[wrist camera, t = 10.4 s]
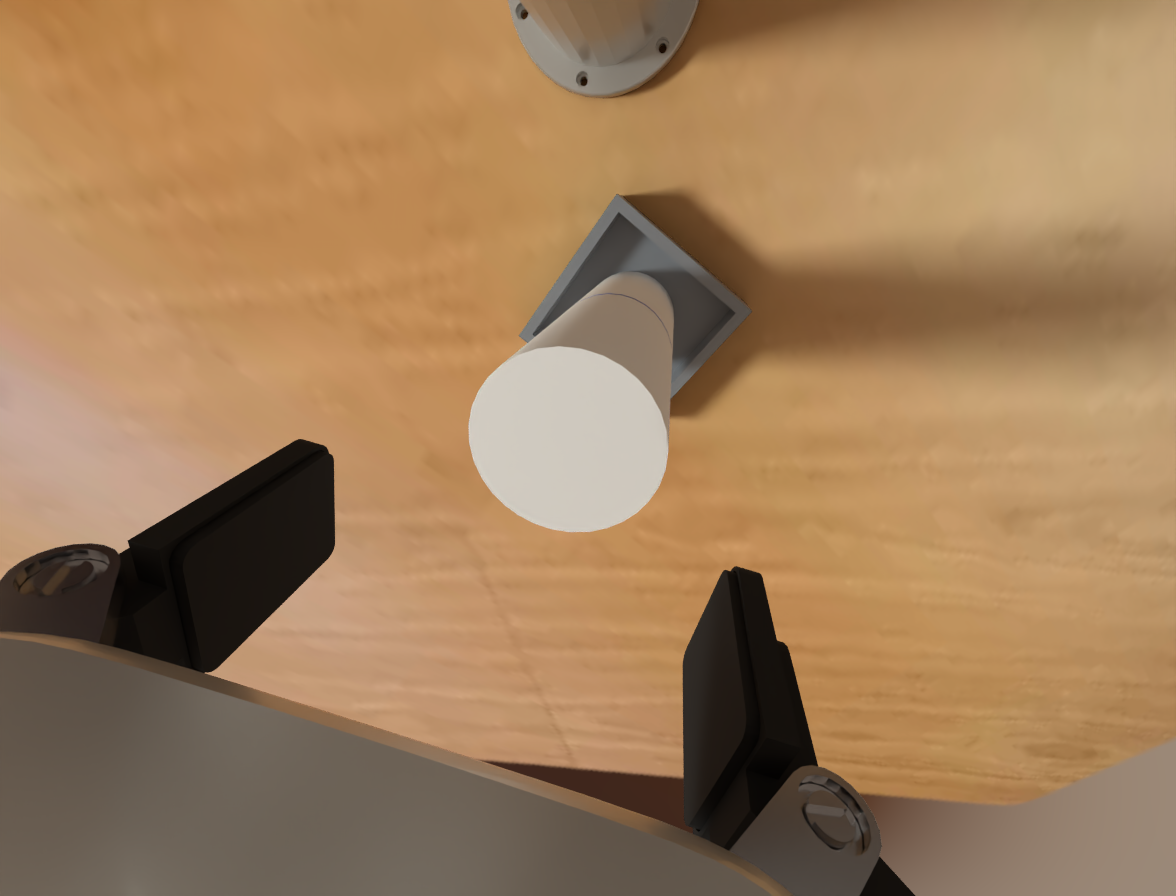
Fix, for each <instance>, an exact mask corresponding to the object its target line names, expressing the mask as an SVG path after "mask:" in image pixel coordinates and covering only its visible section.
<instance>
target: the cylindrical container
mask: <svg viewBox="0 0 1176 896" xmlns="http://www.w3.org/2000/svg"><path fill="white" fill-rule="evenodd" d="M673 329H674V309H673V305H672V301H671V298H670V297H669V295H668V293H667V291H666V290H665V288H664V287H663V286H662V285H661V284H660V283H659V282H658V281H657V280H656V279H654V278H652V277H650V276H649V275H646V274H643V273H640V272H632V271H627V272H620V273H617V274H614V275H612V276H610V277H608V278H606V279H605V280H603V281H602V282H601V283H600V284H598V285H597V286H596V287H595V288H594V289H592V290H591V291H590V292H589V293H588V294H586V295H585V296H584V297H583V298H582V299H580V300H579V301H578V302H577V303H575V304H574V305H573V306H572V307H571V308H569V309H568V310H567V311H566V312H565V313H563V314H562V315H561V316H560V317H559V318H557V319H556V320H555V321H554V322H553V323H551V324H550V325H549V326H548V327H547V328H545V329H544V330H543V331H542V332H540V333H539V334H538V335H537V336H536V337H534V338H533V339H532V340H531V341H530V342H528V343H527V344H526V345H525V346H523V347H522V348H521V349H520V350H519V351H517V352H516V353H515V354H514V355H513V356H511V357H510V358H509V359H508V360H506V361H505V362H504V363H503V364H502V365H500V366H499V367H498V368H497V369H496V370H495V371H494V372H493V373H492V374H491V375H490V376H489V377H488V378H487V379H486V381H485V382H484V384H483V385H482V387H481V388H480V389H479V391H478V393H477V396H476V398H475V400H474V403H473V405H472V408H471V414H470V420H469V444H470V448H471V452H472V456H473V460H474V463H475V465H476V467H477V469H478V471H479V473H480V475H481V477H482V479H483V481H484V482H485V483H486V485H487V486H488V488H489V489H490V490H491V492H492V493H493V494H494V495H495V496H496V497H497V498H498V499H499V500H500V501H501V502H502V503H503V504H504V505H505V506H506V507H508V508H509V509H511V510H512V511H513V512H515V513H516V514H517V515H519V516H521V517H523V518H525V519H527V520H529V521H530V522H532V523H534V524H537V525H540V526H543V527H546V528H549V529H553V530H560V531H566V532H591V531H595V530H600V529H605V528H609V527H611V526H614V525H616V524H618V523H621V522H623V521H625V520H626V519H628V518H630V517H631V516H633V515H634V514H636V513H637V512H638V511H639V510H640V509H641V508H642V507H643V506H645V505H646V504H647V503H648V502H649V500H650V499H651V497H652V496H653V495H654V493H655V492H656V490H657V489H658V487H659V485H660V482H661V480H662V477H663V475H664V472H665V469H666V463H667V456H668V446H669V422H670V397H671V375H672V354H673Z"/></svg>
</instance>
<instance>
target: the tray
mask: <svg viewBox="0 0 1176 896" xmlns="http://www.w3.org/2000/svg"><path fill="white" fill-rule="evenodd" d="M627 271H632V272H640V273H643V274H646V275H649V276H650V277H652V278H654V279H656V280H657V281H658V282H659V283H660V284H661V285H662V286H663V287H664V288H665V290H666V291H667V293H668V295H669V297H670V298H671V301H672V305H673V309H674V329H673V354H672V375H671V397H670V399H671V398H672V397H673V396H674V395H675V394H676V393H677V392H678V391H679V390H680V389H681V387H682V386H683V385H684V384H685V383H686V382H687V381H688V380H689V379H690V378H691V377H692V376H693V375H694V373H695V372H696V371H697V370H698V369H699V368H700V367H701V366H702V365H703V364H704V363H705V362H706V361H707V359H708V358H709V357H710V356H711V355H712V354H713V353H714V352H715V351H716V350H717V349H718V348H719V347H720V345H721V344H722V343H723V342H724V341H725V340H726V339H727V338H728V337H729V336H730V335H731V334H732V333H733V331H734V330H735V329H736V328H737V327H738V326H739V325H740V324H741V323H742V322H743V321H744V320H745V319H746V317H747V316H748V315H749V314H750V313H751V312H752V311H751V309H750V308H749V307H748V305H747V304H746V303H745V302H744V301H743V300H741V299H740V298H739V297H738V296H737V295H736V294H735V293H733V292H732V291H731V290H730V289H729V288H728V287H726V286H725V285H724V284H723V283H722V282H721V281H720V280H718V279H717V278H716V277H715V276H714V275H713V274H712V273H710V272H709V271H708V270H707V269H706V268H705V267H703V266H702V265H701V264H700V263H699V262H698V261H697V260H695V259H694V258H693V257H692V256H691V255H690V254H689V253H687V252H686V251H685V250H684V249H683V248H682V247H680V246H679V245H678V244H677V243H676V242H675V241H674V240H672V239H671V238H670V237H669V236H668V235H667V234H666V233H664V232H663V231H662V230H661V229H660V228H659V227H657V226H656V225H655V224H654V223H653V222H652V221H651V220H649V219H648V218H647V217H646V216H645V215H644V214H643V213H641V212H640V211H639V210H638V209H637V208H636V207H634V206H633V205H632V204H631V203H630V202H629V201H628V200H626V199H625V198H624V197H623V196H621V195H619V194H616V196H615V197H614V199H613V200H612V202H611V203H610V204H609V206H608V207H607V209H606V210H605V212H604V213H603V215H602V216H601V218H600V219H599V220H598V222H597V223H596V225H595V226H594V228H593V229H592V231H591V232H590V233H589V235H588V236H587V238H586V239H585V241H584V242H583V244H582V245H581V247H580V248H579V249H578V251H577V252H576V254H575V255H574V257H573V258H572V260H571V261H570V262H569V264H568V265H567V267H566V268H565V270H564V271H563V273H562V274H561V275H560V277H559V278H558V280H557V281H556V283H555V284H554V286H553V287H552V289H551V290H550V291H549V293H548V294H547V296H546V297H545V299H544V300H543V302H542V303H541V304H540V306H539V307H538V309H537V310H536V312H535V313H534V315H533V316H532V318H531V319H530V320H529V322H528V323H527V325H526V326H525V328H524V329H523V331H522V332H521V333H520V335H519V336H520V337H521V338H522V339H523V340H525V341H526V342H527V343H528V342H530V341H531V340H532V339H533V338H534V337H536V336H537V335H538V334H539V333H540V332H542V331H543V330H544V329H545V328H547V327H548V326H549V325H550V324H551V323H553V322H554V321H555V320H556V319H557V318H559V317H560V316H561V315H562V314H563V313H565V312H566V311H567V310H568V309H569V308H571V307H572V306H573V305H574V304H575V303H577V302H578V301H579V300H580V299H582V298H583V297H584V296H585V295H586V294H588V293H589V292H590V291H591V290H592V289H594V288H595V287H596V286H597V285H598V284H600V283H601V282H602V281H603V280H605V279H606V278H608V277H610V276H612V275H614V274H617V273H620V272H627Z"/></svg>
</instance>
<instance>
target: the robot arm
mask: <svg viewBox="0 0 1176 896" xmlns="http://www.w3.org/2000/svg"><path fill="white" fill-rule="evenodd" d="M508 3H509V7H510V12H511V16H512V20H513V23H514V26H515V28H516V31H517V33H518V36H519V38H520V40H521V43H522V44H523V46H524V48H525V49H526V51H527V52H528V54H529V56H530V57H531V59H532V60H533V62H534V63H535V64H536V65H537V66H538V67H539V69H540V70H541V71H542V72H543V73H544V74H545V75H546V76H548V77H549V78H550V79H551V80H552V81H553V82H554V83H556V84H557V85H559V86H561V87H563V88H564V89H566V90H568V91H569V92H572V93H575V94H578V95H582V96H585V97H594V98H607V97H614V96H620V95H622V94H625V93H627V92H630V91H632V90H635V89H637V88H639V87H640V86H642V85H643V84H645V83H646V82H648V81H649V80H651V79H652V78H654V77H655V76H656V75H657V74H658V73H659V72H660V71H661V70H662V69H663V68H664V67H665V66H666V65H667V64H668V63H669V61H670V60H671V59H672V57H673V56H674V54H675V53H676V52H677V50H678V49H679V48H680V46H681V44H682V42H683V40H684V38H685V36H686V35H687V33H688V31H689V29H690V27H691V24H692V21H693V18H694V15H695V12H696V9H697V6H698V3H699V0H508ZM524 12H528V16H527V18H526V19H525V20H523V17H522V16H523V13H524ZM662 45H665V46H666V48H667V50H666V52H664V53H660V52H659V48H660V47H661V46H662ZM583 78H587V79H588V83H587V85H585V86H582V85H581V81H582V79H583ZM128 543H129V547H130V548H128V549H127V550H125V551H123V552H122V553H120V554H118V553H117V551H116V550H115V549H113V548H110V547H108V546H105V545H99V544H91V543H89V544H73V545H67V546H62V547H57V548H53V549H50V550H47V551H44V552H41V553H38V554H36V555H34V556H32V557H29V558H27V559H25V560H23V561H21V562H20V563H18V564H17V565H16V566H14V567H13V568H11V569H10V570H9V571H8V572H7V573H6V574H5V575H4V577H3V578H2V579H1V580H0V896H915V895H914V894H913V893H912V892H911V891H910V889H909V888H908V887H907V886H906V885H905V884H904V883H903V882H902V881H901V880H900V878H899V877H898V876H897V875H896V874H895V873H894V872H893V871H892V870H891V869H890V868H889V866H888V865H887V864H886V863H885V862H884V861H883V860H882V859H881V858H880V857H879V855H880V851H881V847H882V845H881V837H880V830H879V828H878V825H877V823H876V820H875V817H874V815H873V813H872V812H871V810H870V809H869V807H868V805H867V804H866V802H865V801H864V799H863V798H862V797H861V796H860V795H859V793H858V792H857V791H856V790H855V789H854V788H853V787H852V786H851V785H850V784H849V783H848V782H846V781H845V780H844V779H843V778H841V777H840V776H839V775H837V774H835V773H833V772H831V771H829V770H827V769H826V768H822V767H818V764H817V760H816V756H815V752H814V748H813V744H812V740H811V736H810V732H809V728H808V724H807V720H806V716H805V712H804V708H803V704H802V700H801V696H800V692H799V688H798V684H797V680H796V676H795V672H794V668H793V664H792V660H791V656H790V653H789V650H788V647H787V646H786V645H785V644H784V643H783V642H780V641H777V639H776V635H775V630H774V626H773V622H772V617H771V613H770V608H769V604H768V600H767V595H766V591H765V587H764V582H763V578H762V575H761V574H760V573H757V572H754V571H750V570H747V569H744V568H740V567H737V566H736V567H734V568H733V569H732V570H731V571H727V570H724V571H723V572H722V574H721V576H720V578H719V580H718V582H717V585H716V587H715V589H714V591H713V593H712V595H711V597H710V600H709V602H708V604H707V606H706V608H705V610H704V612H703V614H702V617H701V619H700V621H699V623H698V625H697V627H696V629H695V632H694V634H693V636H692V638H691V640H690V642H689V644H688V646H687V649H686V651H685V655H684V659H683V753H684V820H685V824H686V825H687V826H689V827H692V828H693V834H691V833H689V832H686V831H684V830H682V829H679V828H677V827H674V826H672V825H669V824H667V823H664V822H661V821H658V820H656V819H653V818H650V817H647V816H644V815H641V814H638V813H635V812H632V811H630V810H627V809H624V808H621V807H618V806H615V805H612V804H609V803H606V802H604V801H601V800H598V799H595V798H592V797H589V796H586V795H583V794H580V793H577V792H574V791H571V790H568V789H565V788H562V787H559V786H556V785H553V784H550V783H547V782H544V781H541V780H537V779H534V778H531V777H528V776H525V775H522V774H519V773H516V772H513V771H510V770H507V769H503V768H500V767H497V766H494V765H491V764H488V763H485V762H482V761H479V760H476V759H473V758H470V757H467V756H464V755H461V754H458V753H454V752H451V751H448V750H445V749H442V748H439V747H436V746H433V745H429V744H426V743H423V742H420V741H417V740H414V739H411V738H408V737H404V736H401V735H398V734H395V733H392V732H389V731H386V730H383V729H379V728H376V727H373V726H370V725H367V724H364V723H361V722H357V721H354V720H351V719H348V718H345V717H342V716H339V715H335V714H332V713H329V712H326V711H323V710H320V709H317V708H313V707H310V706H307V705H304V704H301V703H297V702H294V701H291V700H288V699H285V698H282V697H278V696H275V695H272V694H269V693H266V692H262V691H259V690H256V689H253V688H250V687H246V686H243V685H240V684H237V683H234V682H230V681H227V680H224V679H221V678H218V677H214V676H211V675H208V674H205V672H207V673H208V672H212V671H214V670H215V669H216V668H218V667H219V666H220V665H221V664H222V663H223V662H224V661H225V660H226V659H227V658H228V657H229V656H230V655H231V654H232V653H233V652H234V651H235V650H236V649H237V648H238V647H239V646H240V645H241V644H242V643H243V642H244V641H245V640H246V639H247V638H248V637H249V636H250V635H251V634H252V633H253V632H254V631H255V630H256V629H257V628H258V627H259V626H260V625H261V624H262V623H263V622H264V621H265V620H266V619H267V618H268V617H269V616H270V615H271V614H272V613H273V612H274V611H275V610H276V609H278V608H279V607H280V606H281V605H282V604H283V603H284V602H285V601H286V600H287V599H288V598H289V597H290V596H291V595H292V594H293V593H294V592H295V591H296V590H297V589H298V588H299V587H300V586H301V585H302V584H303V583H304V582H305V581H306V580H307V579H308V578H309V577H310V576H311V575H312V574H313V573H314V572H315V571H316V570H317V569H318V568H319V567H320V566H321V565H322V564H323V563H324V562H325V561H326V560H327V559H328V558H329V557H330V555H331V554H332V552H333V549H334V546H335V508H334V459H333V456H332V455H331V454H329V452H328V449H327V447H325V446H323V445H320V444H317V443H313V442H310V441H306V440H303V439H298V440H296V441H294V442H292V443H291V444H289V445H287V446H286V447H284V448H282V449H281V450H279V451H277V452H276V453H274V454H272V455H270V456H269V457H267V458H265V459H264V460H262V461H260V462H259V463H257V464H255V465H254V466H252V467H250V468H249V469H247V470H245V471H244V472H242V473H240V474H239V475H237V476H235V477H234V478H232V479H230V480H229V481H227V482H225V483H224V484H222V485H220V486H219V487H217V488H215V489H214V490H212V491H210V492H208V493H207V494H205V495H203V496H202V497H200V498H198V499H197V500H195V501H193V502H192V503H190V504H188V505H187V506H185V507H183V508H182V509H180V510H178V511H177V512H175V513H173V514H172V515H170V516H168V517H167V518H165V519H163V520H162V521H160V522H158V523H157V524H155V525H153V526H152V527H150V528H148V529H146V530H145V531H143V532H141V533H140V534H138V535H136V536H135V537H133V538H131V539H130V540H128Z"/></svg>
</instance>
